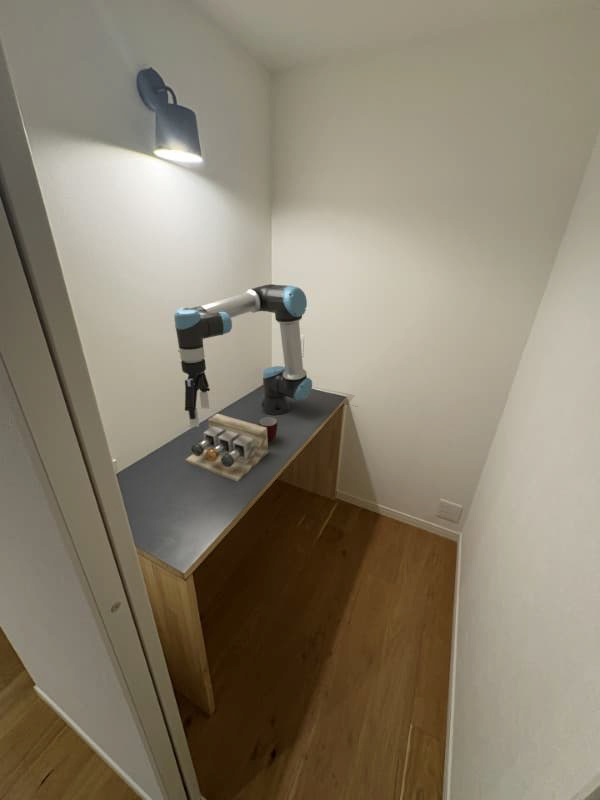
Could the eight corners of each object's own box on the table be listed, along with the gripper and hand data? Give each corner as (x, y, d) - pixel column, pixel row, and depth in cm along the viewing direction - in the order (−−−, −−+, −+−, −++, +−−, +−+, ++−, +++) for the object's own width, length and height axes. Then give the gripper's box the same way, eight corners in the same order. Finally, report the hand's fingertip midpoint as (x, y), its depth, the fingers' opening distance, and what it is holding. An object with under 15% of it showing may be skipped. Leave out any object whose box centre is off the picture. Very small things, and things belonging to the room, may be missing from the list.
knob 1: (207, 443, 132) (205, 433, 130) (215, 446, 130) (214, 436, 128) (192, 454, 125) (190, 444, 123) (201, 457, 123) (199, 447, 121)
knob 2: (235, 453, 126) (234, 443, 124) (245, 456, 124) (244, 446, 122) (221, 465, 119) (220, 454, 117) (231, 468, 117) (230, 458, 115)
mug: (267, 450, 135) (266, 430, 131) (252, 444, 139) (251, 425, 134) (281, 438, 143) (280, 419, 139) (266, 434, 147) (265, 415, 142)
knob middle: (221, 448, 129) (219, 438, 127) (230, 451, 127) (229, 441, 125) (206, 459, 122) (205, 449, 120) (216, 463, 120) (214, 452, 118)
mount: (220, 436, 144) (217, 413, 139) (268, 452, 134) (266, 427, 128) (186, 461, 127) (181, 436, 122) (237, 481, 117) (235, 454, 112)
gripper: (192, 348, 114) (199, 401, 123) (167, 372, 91) (178, 434, 100) (213, 348, 114) (218, 401, 123) (193, 372, 91) (201, 435, 100)
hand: (200, 416), depth 112 cm, fingers open, 13 cm apart
